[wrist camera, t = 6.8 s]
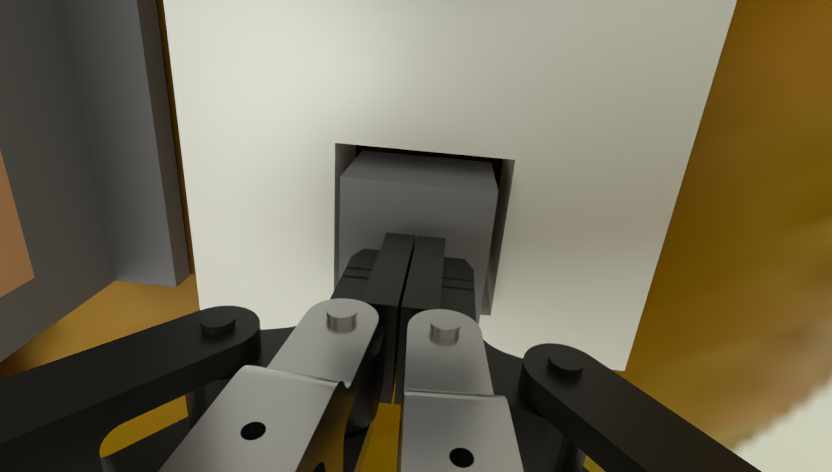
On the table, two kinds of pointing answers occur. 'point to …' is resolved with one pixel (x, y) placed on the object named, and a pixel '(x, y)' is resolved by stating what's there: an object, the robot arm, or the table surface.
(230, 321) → the robot arm
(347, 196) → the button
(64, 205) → the pattern sign
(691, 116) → the button board
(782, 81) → the table surface
